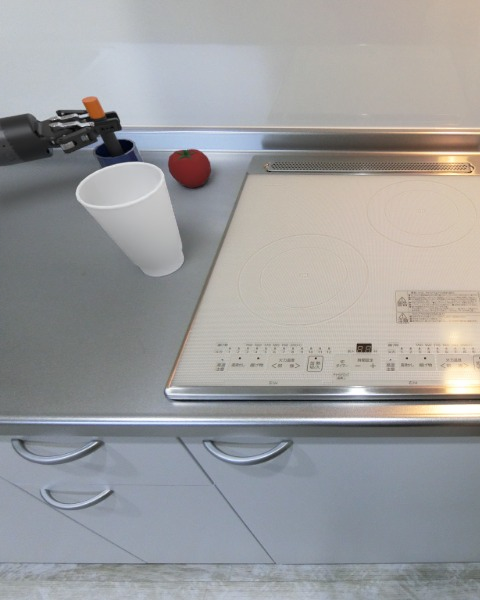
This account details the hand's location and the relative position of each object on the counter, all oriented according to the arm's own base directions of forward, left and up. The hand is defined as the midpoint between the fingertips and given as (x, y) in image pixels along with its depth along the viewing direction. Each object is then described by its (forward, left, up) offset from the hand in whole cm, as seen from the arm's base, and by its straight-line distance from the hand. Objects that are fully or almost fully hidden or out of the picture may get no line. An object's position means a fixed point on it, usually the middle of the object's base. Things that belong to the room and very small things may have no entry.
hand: (118, 120), depth 82 cm
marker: (-1, -3, -7) cm, 8 cm away
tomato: (+8, +6, -13) cm, 17 cm away
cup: (+26, -11, -13) cm, 31 cm away
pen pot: (-1, -3, -13) cm, 13 cm away
